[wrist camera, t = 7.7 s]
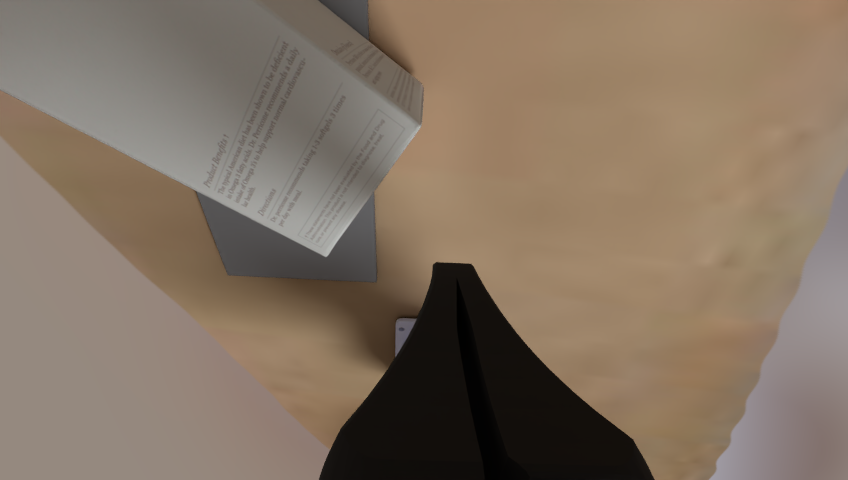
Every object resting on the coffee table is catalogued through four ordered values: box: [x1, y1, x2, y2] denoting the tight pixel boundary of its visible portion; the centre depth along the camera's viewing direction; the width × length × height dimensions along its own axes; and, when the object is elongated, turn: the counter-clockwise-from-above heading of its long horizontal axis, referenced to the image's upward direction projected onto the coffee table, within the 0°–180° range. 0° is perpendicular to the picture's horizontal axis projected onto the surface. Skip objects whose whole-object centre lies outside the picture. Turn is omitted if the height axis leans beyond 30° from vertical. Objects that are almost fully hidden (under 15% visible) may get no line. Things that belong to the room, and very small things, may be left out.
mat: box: [196, 0, 377, 282], centre depth 19 cm, size 18×11×1 cm, turn 177°
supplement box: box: [0, 0, 424, 257], centre depth 13 cm, size 7×7×13 cm
